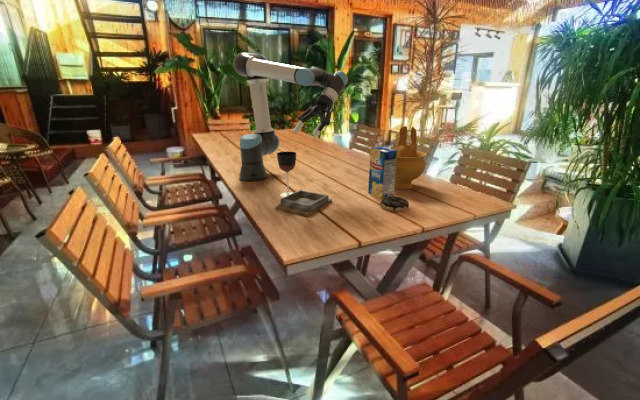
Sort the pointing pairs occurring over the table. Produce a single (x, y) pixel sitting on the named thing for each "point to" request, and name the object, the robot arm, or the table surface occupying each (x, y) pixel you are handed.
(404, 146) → the decorative bowl
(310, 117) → the robot arm
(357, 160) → the table surface
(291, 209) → the tray
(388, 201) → the donut
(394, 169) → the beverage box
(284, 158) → the wineglass
